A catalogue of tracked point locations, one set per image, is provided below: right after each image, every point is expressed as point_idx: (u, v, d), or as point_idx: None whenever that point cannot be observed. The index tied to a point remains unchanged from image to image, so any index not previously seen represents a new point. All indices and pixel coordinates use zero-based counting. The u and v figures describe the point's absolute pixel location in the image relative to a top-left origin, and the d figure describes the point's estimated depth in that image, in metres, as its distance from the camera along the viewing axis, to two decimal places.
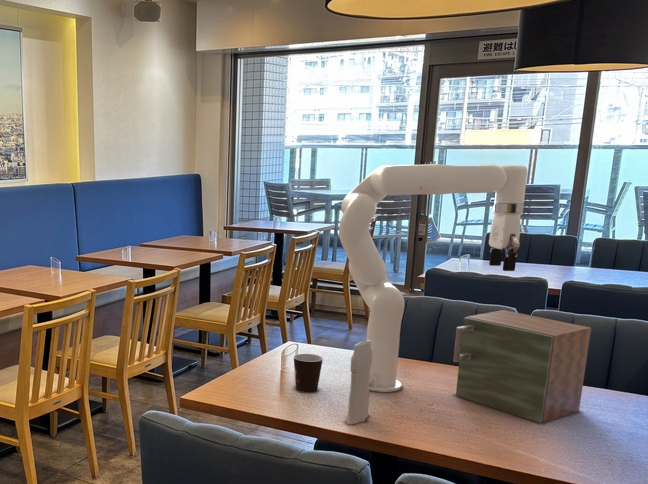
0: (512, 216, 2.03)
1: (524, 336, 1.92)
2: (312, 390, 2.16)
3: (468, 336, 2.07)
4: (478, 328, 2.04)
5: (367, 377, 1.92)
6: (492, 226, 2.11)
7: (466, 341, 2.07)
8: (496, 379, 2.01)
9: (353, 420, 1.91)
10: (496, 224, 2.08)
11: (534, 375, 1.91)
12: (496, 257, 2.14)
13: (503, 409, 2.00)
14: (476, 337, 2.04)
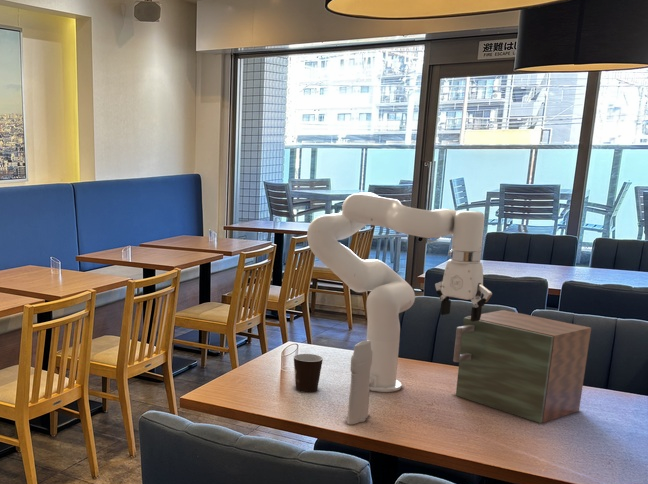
0: (478, 265, 1.94)
1: (524, 336, 1.92)
2: (312, 390, 2.16)
3: (468, 336, 2.07)
4: (478, 328, 2.04)
5: (367, 377, 1.92)
6: (447, 275, 2.00)
7: (466, 341, 2.07)
8: (496, 379, 2.01)
9: (353, 420, 1.91)
10: (457, 273, 1.97)
11: (534, 375, 1.91)
12: (447, 306, 2.04)
13: (503, 409, 2.00)
14: (476, 337, 2.04)
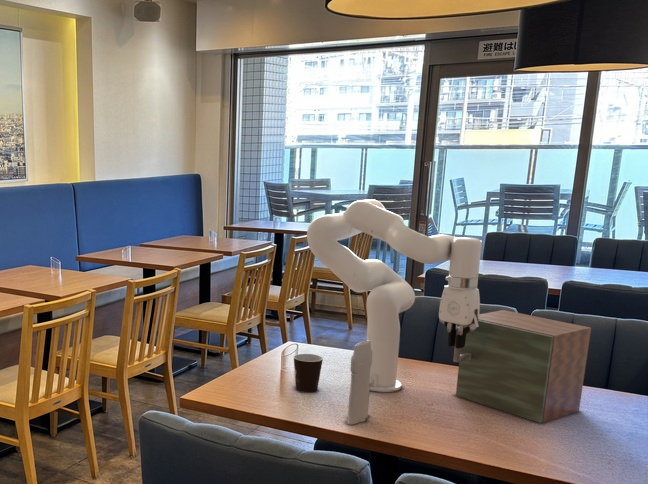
0: (474, 291, 1.95)
1: (524, 336, 1.92)
2: (312, 390, 2.16)
3: (468, 336, 2.07)
4: (478, 328, 2.04)
5: (367, 377, 1.92)
6: (444, 300, 2.02)
7: (466, 341, 2.07)
8: (496, 379, 2.01)
9: (353, 420, 1.91)
10: (454, 299, 1.99)
11: (534, 375, 1.91)
12: (454, 337, 2.03)
13: (503, 409, 2.00)
14: (476, 337, 2.04)
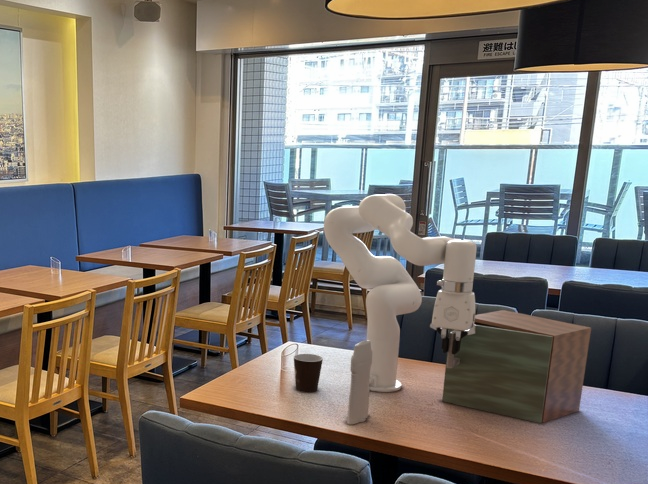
0: (473, 295, 1.90)
1: (521, 337, 1.90)
2: (312, 390, 2.16)
3: None
4: None
5: (367, 377, 1.92)
6: (440, 306, 1.94)
7: None
8: (489, 382, 1.98)
9: (353, 420, 1.91)
10: (452, 304, 1.92)
11: (533, 376, 1.90)
12: (448, 343, 1.97)
13: (498, 412, 1.98)
14: (465, 341, 2.00)
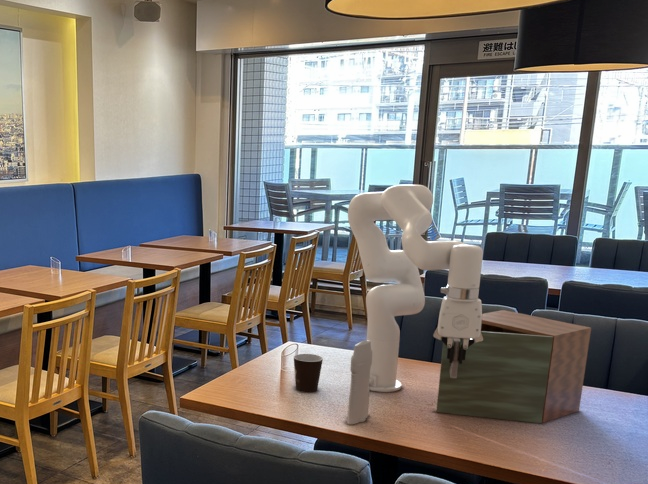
0: None
1: (521, 339, 1.88)
2: (312, 390, 2.16)
3: None
4: None
5: (367, 377, 1.92)
6: (447, 314, 1.84)
7: None
8: (488, 388, 1.93)
9: (353, 420, 1.91)
10: (461, 312, 1.83)
11: (533, 377, 1.89)
12: None
13: (497, 417, 1.94)
14: None
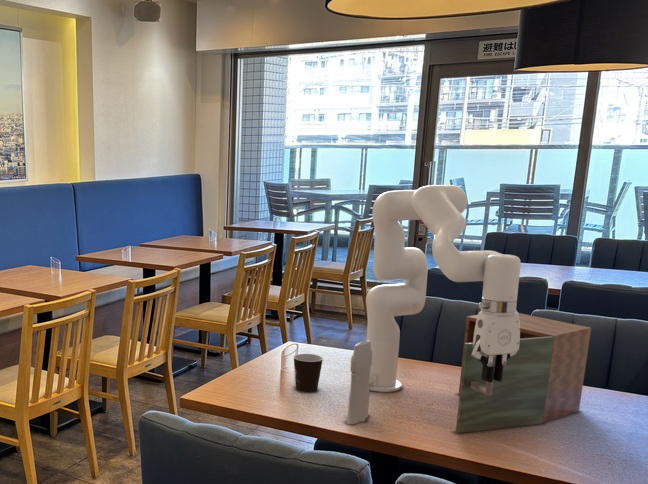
0: None
1: (529, 344, 1.84)
2: (312, 390, 2.16)
3: (472, 363, 1.81)
4: None
5: (367, 377, 1.92)
6: (493, 331, 1.70)
7: (470, 369, 1.81)
8: (502, 398, 1.86)
9: (353, 420, 1.91)
10: (505, 326, 1.70)
11: (538, 379, 1.87)
12: None
13: (508, 425, 1.88)
14: None
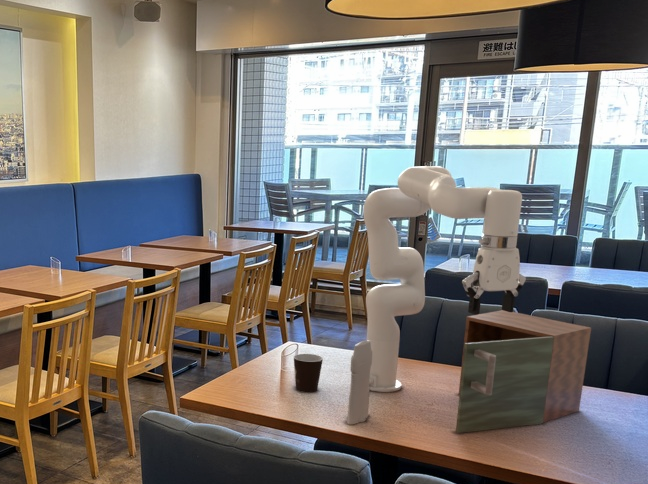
0: None
1: (529, 344, 1.84)
2: (312, 390, 2.16)
3: (472, 363, 1.81)
4: (483, 351, 1.81)
5: (367, 377, 1.92)
6: (493, 266, 1.70)
7: (470, 369, 1.81)
8: (502, 398, 1.86)
9: (353, 420, 1.91)
10: (504, 262, 1.70)
11: (538, 379, 1.87)
12: None
13: (508, 425, 1.88)
14: (481, 361, 1.81)
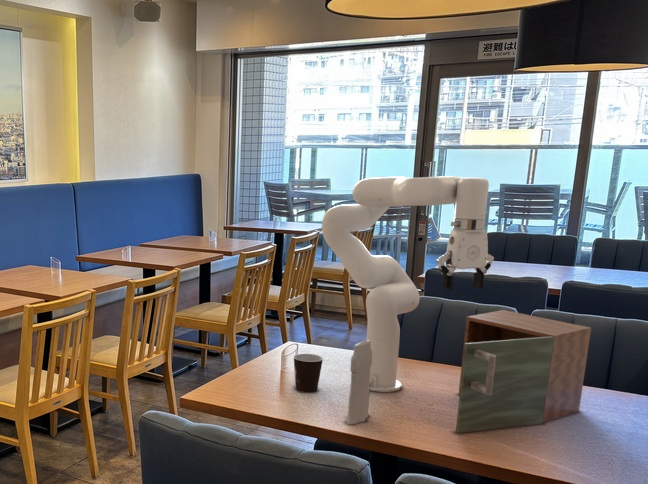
0: None
1: (529, 344, 1.84)
2: (312, 390, 2.16)
3: (472, 363, 1.81)
4: (483, 351, 1.81)
5: (367, 377, 1.92)
6: (463, 246, 1.89)
7: (470, 369, 1.81)
8: (502, 398, 1.86)
9: (353, 420, 1.91)
10: (474, 243, 1.89)
11: (538, 379, 1.87)
12: None
13: (508, 425, 1.88)
14: (481, 361, 1.81)
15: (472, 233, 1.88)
